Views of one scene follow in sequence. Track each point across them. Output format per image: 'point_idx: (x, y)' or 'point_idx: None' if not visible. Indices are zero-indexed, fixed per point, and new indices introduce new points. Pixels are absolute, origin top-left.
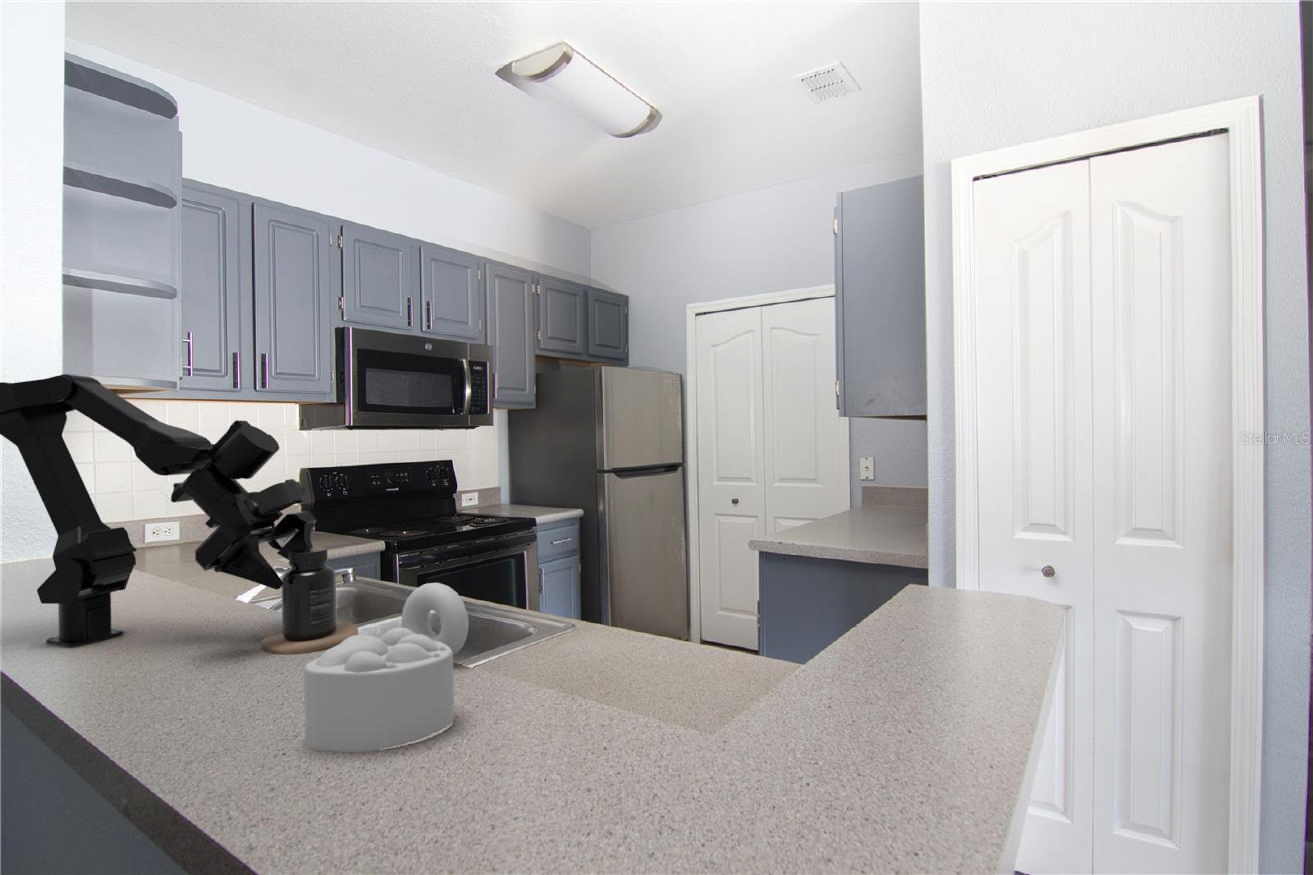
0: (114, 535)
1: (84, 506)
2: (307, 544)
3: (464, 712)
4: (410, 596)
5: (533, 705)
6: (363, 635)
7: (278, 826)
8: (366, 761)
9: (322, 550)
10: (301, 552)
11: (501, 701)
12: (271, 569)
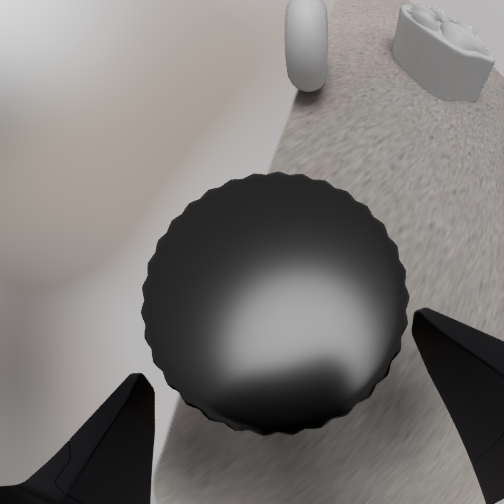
0: None
1: None
2: (68, 475)
3: (385, 41)
4: (323, 24)
5: (352, 21)
6: (456, 27)
7: (498, 80)
8: None
9: (259, 176)
10: (369, 267)
11: (358, 31)
12: (472, 341)
